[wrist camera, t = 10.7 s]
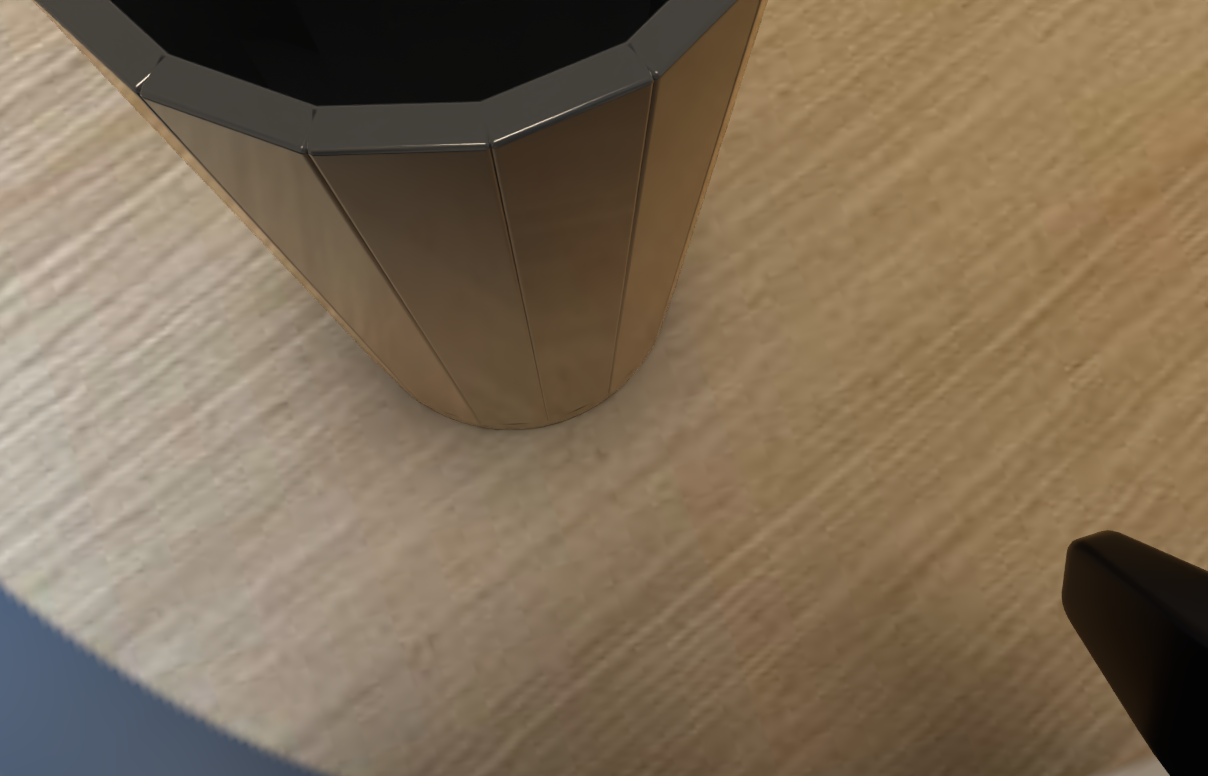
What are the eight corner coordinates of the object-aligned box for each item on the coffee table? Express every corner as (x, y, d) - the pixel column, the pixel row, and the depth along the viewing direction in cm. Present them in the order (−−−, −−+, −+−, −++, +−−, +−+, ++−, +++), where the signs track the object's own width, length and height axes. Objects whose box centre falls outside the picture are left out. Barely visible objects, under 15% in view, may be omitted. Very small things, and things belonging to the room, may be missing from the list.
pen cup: (722, 350, 20) (971, -53, 7) (429, 483, 19) (133, 296, 7) (589, 86, 21) (604, -659, 8) (308, 202, 20) (-142, -421, 8)
